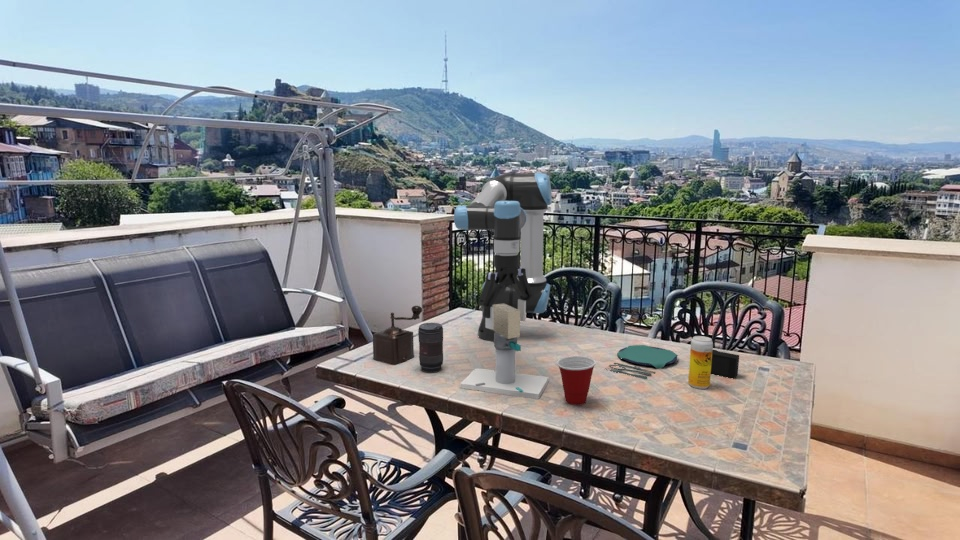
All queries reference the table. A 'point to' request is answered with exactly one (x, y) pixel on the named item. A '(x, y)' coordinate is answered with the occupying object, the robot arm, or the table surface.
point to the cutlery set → (644, 358)
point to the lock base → (505, 378)
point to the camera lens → (430, 347)
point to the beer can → (700, 362)
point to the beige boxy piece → (506, 327)
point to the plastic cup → (576, 377)
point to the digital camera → (724, 364)
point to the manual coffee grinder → (395, 341)
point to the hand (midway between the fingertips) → (505, 324)
